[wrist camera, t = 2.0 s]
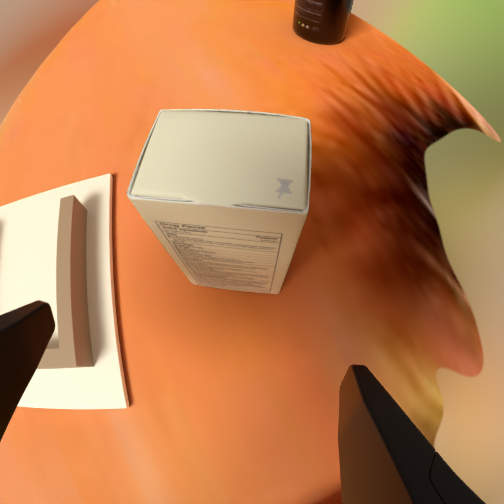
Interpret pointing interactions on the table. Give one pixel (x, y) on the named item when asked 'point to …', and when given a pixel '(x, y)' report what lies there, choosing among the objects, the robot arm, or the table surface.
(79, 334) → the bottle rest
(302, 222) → the skincare box
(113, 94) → the table surface
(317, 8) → the supplement bottle
